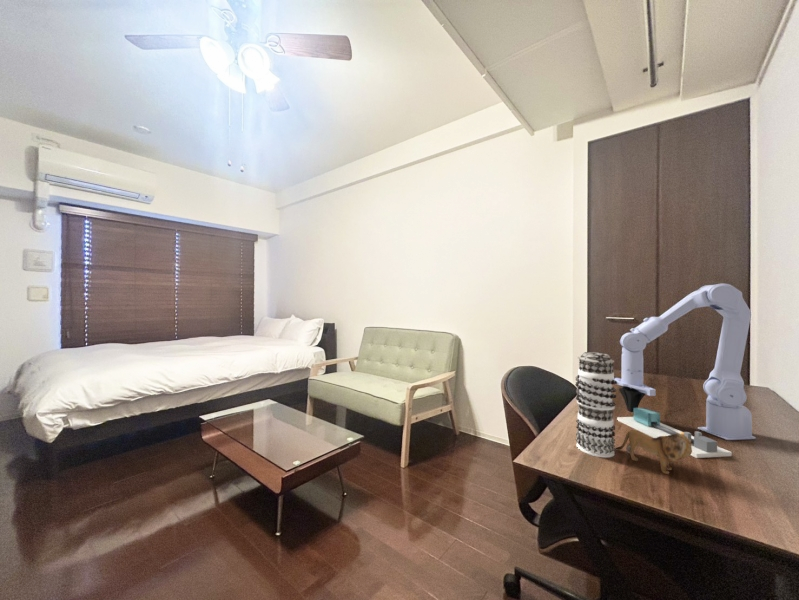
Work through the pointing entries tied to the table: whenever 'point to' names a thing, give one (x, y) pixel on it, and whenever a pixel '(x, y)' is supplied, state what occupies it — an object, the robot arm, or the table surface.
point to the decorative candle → (595, 405)
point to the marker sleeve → (646, 416)
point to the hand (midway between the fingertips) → (631, 411)
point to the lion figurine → (659, 447)
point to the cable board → (699, 443)
